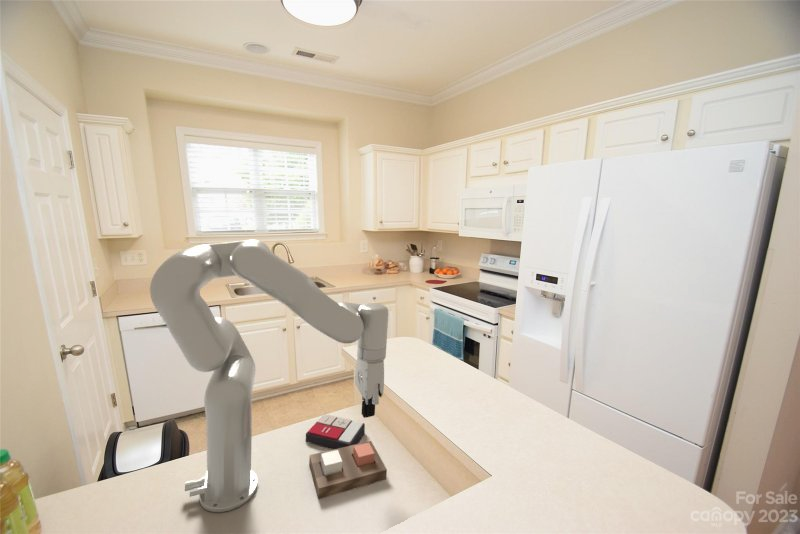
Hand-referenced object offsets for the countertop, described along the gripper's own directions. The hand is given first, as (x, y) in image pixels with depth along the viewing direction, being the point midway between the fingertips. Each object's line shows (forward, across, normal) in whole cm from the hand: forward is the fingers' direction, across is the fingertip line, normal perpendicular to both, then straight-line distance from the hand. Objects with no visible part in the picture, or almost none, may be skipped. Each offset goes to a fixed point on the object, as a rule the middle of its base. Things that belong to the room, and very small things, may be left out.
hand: (368, 415), depth 90 cm
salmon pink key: (+14, 0, -1) cm, 14 cm away
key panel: (+16, 0, -5) cm, 17 cm away
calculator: (+16, -15, -4) cm, 23 cm away
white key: (+14, 0, -10) cm, 17 cm away
